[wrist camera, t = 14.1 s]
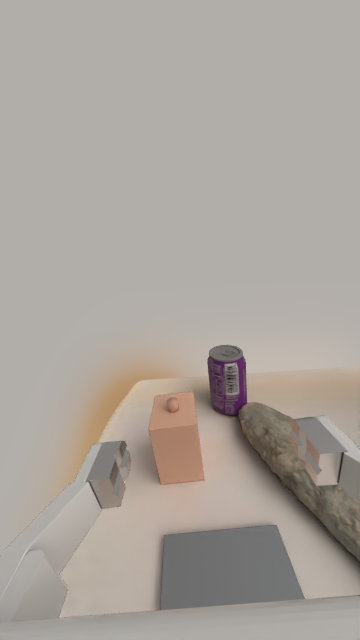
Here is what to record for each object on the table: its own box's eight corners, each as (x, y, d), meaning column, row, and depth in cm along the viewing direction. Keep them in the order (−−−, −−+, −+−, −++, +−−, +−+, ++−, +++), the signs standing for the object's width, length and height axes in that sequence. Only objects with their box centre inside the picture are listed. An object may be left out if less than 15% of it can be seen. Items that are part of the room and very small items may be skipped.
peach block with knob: (199, 438, 29) (192, 384, 26) (204, 480, 23) (196, 416, 20) (164, 442, 29) (153, 389, 26) (160, 484, 23) (146, 422, 21)
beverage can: (252, 400, 36) (251, 348, 32) (237, 424, 31) (234, 365, 28) (221, 388, 40) (218, 341, 37) (205, 407, 36) (199, 355, 32)
